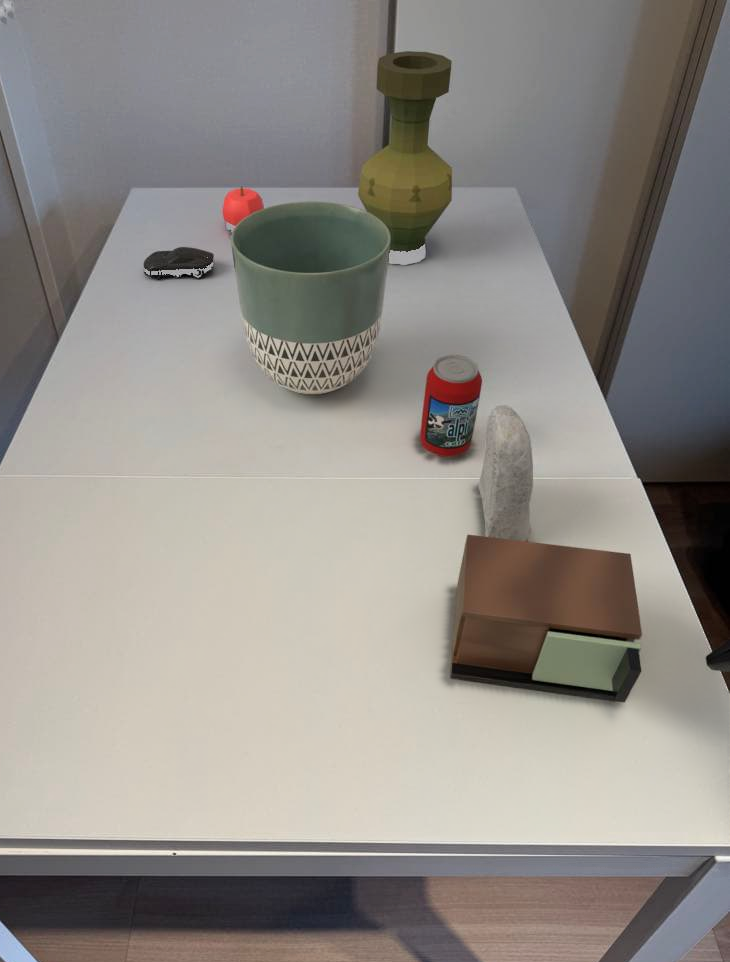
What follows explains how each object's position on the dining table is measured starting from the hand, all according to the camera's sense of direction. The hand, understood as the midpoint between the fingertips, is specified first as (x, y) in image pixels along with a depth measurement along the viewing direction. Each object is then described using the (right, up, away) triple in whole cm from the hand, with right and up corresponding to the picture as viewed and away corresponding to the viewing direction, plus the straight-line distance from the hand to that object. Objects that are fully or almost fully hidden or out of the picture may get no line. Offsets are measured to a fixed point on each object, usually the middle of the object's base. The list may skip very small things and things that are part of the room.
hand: (708, 663), depth 66 cm
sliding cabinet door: (-9, -4, +7) cm, 12 cm away
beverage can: (-17, +23, +35) cm, 45 cm away
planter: (-35, +34, +45) cm, 66 cm away
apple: (-48, +68, +77) cm, 114 cm away
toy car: (-58, +57, +66) cm, 105 cm away
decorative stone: (-12, +14, +26) cm, 32 cm away
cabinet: (-12, +1, +13) cm, 18 cm away
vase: (-20, +62, +71) cm, 96 cm away
